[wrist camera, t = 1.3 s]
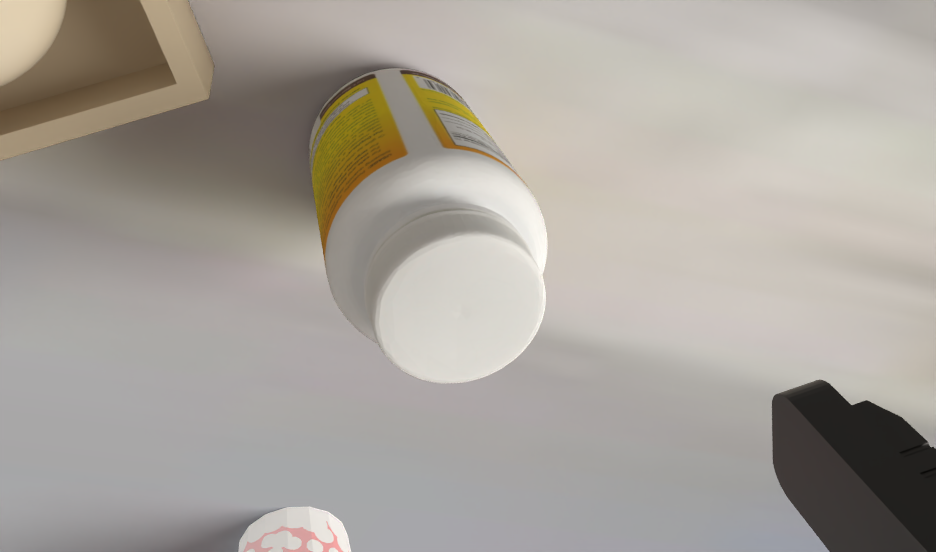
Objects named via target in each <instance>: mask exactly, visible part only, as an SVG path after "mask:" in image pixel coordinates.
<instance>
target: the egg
mask: <svg viewBox="0 0 936 552" xmlns="http://www.w3.org/2000/svg"><path fill="white" fill-rule="evenodd" d="M66 3H67V0H0V87H1V86H3V85H6V84H8V83H10V82H11V81H13V80H15V79H17V78H19V77H20V76H21V75H23V74H24V73H25V72H27V71H28V70H29V69H31V68H32V67H33V66H35V65H36V63H37V62H38V61H39V60H40V59H41V58H42V57H43V56H44V55H45V54H46V52H47V51H48V49H49V48H50V47H51V45H52V44H53V42H54V40H55V38H56V36H57V34H58V32H59V30H60V28H61V25H62V21H63V18H64V15H65V10H66Z"/></svg>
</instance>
